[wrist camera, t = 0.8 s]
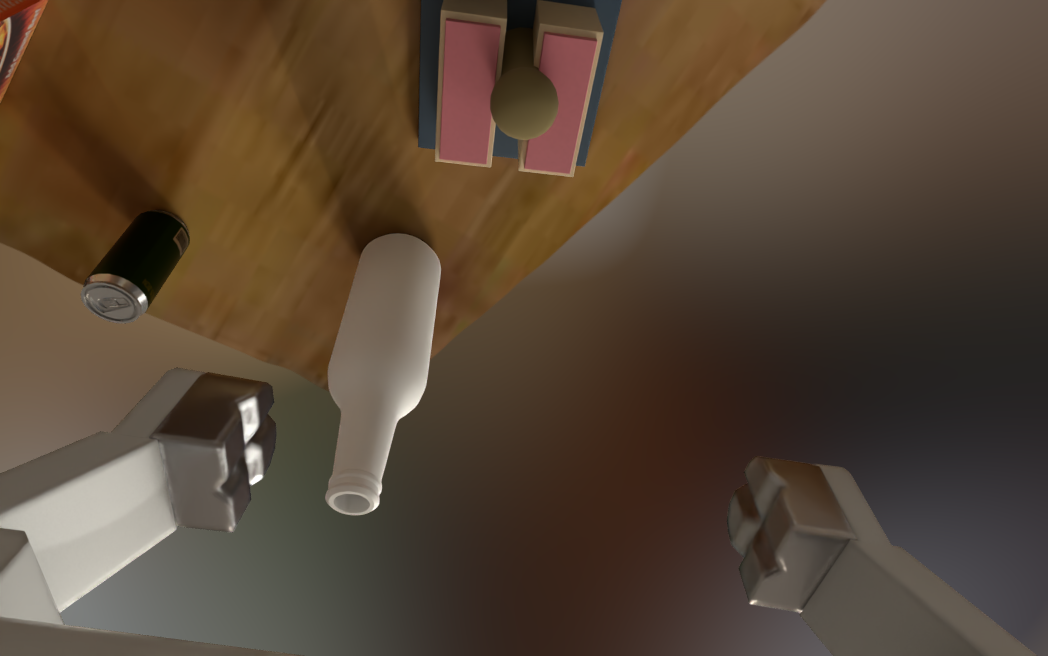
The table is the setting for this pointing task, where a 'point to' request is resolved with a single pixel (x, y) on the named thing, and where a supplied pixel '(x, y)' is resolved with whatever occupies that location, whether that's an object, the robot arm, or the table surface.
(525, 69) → the brown piece
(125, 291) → the beer can
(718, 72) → the table surface
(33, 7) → the pasta box
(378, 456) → the alcohol
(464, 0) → the twin pink pillar stand
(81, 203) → the table surface
